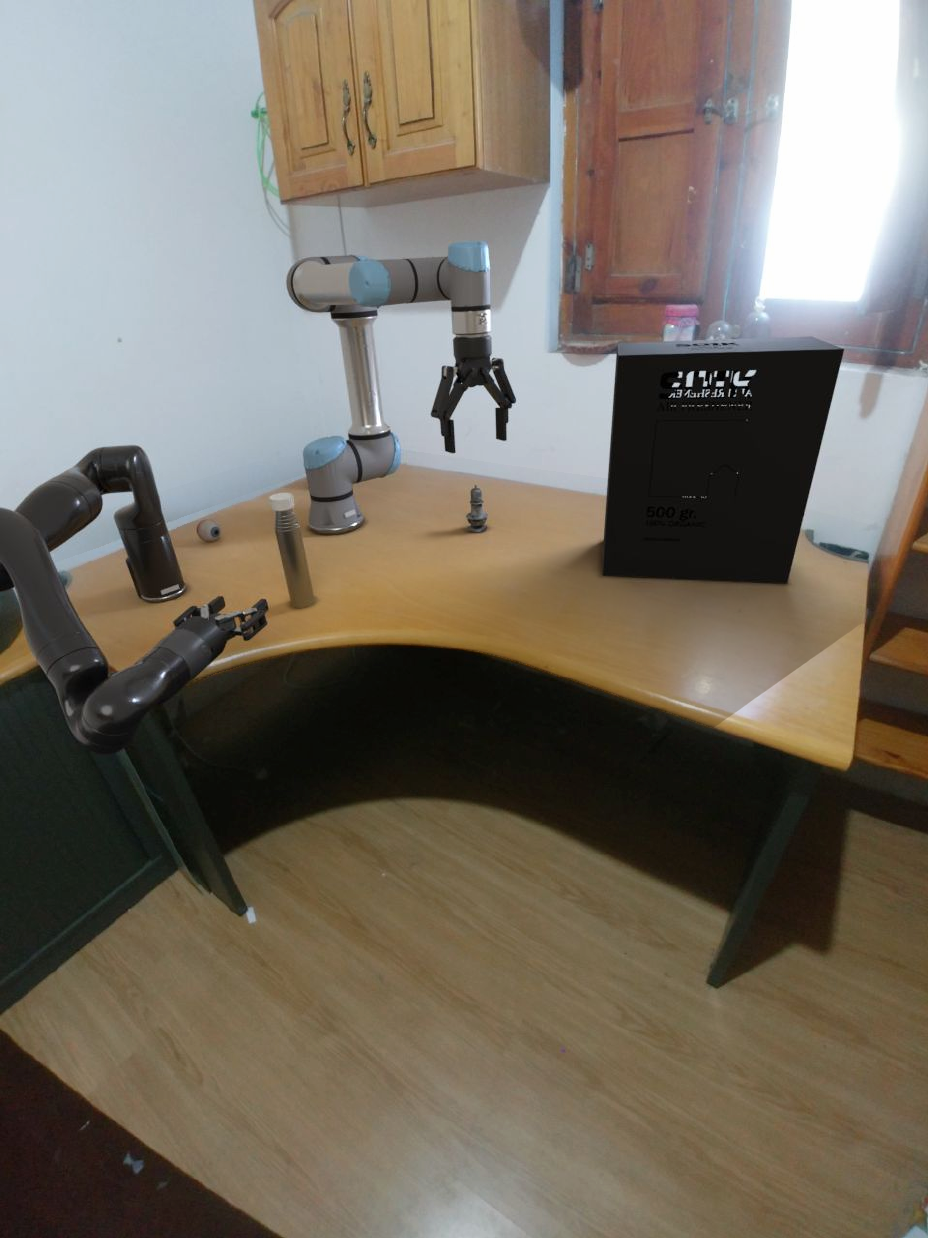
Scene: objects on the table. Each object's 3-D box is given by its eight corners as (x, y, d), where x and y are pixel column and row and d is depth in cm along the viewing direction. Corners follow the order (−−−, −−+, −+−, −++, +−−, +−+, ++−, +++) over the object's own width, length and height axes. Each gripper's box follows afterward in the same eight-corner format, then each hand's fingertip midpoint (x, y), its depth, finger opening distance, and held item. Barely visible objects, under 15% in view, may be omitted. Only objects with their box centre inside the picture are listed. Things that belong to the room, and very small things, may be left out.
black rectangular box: (766, 545, 143) (811, 336, 120) (787, 583, 126) (844, 348, 103) (603, 539, 150) (617, 342, 128) (602, 575, 133) (618, 355, 111)
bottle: (286, 605, 129) (262, 500, 118) (302, 595, 133) (281, 492, 121) (303, 610, 127) (280, 503, 115) (319, 600, 131) (299, 495, 119)
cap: (266, 509, 119) (263, 498, 117) (283, 502, 122) (280, 491, 121) (282, 512, 116) (280, 501, 115) (299, 505, 120) (297, 494, 119)
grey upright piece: (486, 532, 159) (485, 488, 152) (464, 532, 160) (462, 487, 154) (490, 524, 163) (488, 481, 157) (469, 523, 165) (466, 480, 159)
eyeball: (210, 546, 160) (204, 525, 157) (195, 542, 163) (189, 521, 160) (228, 538, 164) (223, 518, 161) (213, 535, 167) (208, 514, 164)
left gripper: (156, 667, 97) (214, 617, 110) (234, 674, 94) (284, 622, 107) (141, 626, 93) (203, 580, 107) (222, 633, 90) (275, 585, 103)
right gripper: (429, 342, 108) (437, 460, 118) (533, 329, 120) (532, 437, 131) (407, 340, 113) (417, 454, 124) (508, 328, 125) (510, 432, 136)
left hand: (244, 601), depth 107 cm, fingers open, 8 cm apart
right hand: (476, 445), depth 127 cm, fingers open, 13 cm apart
